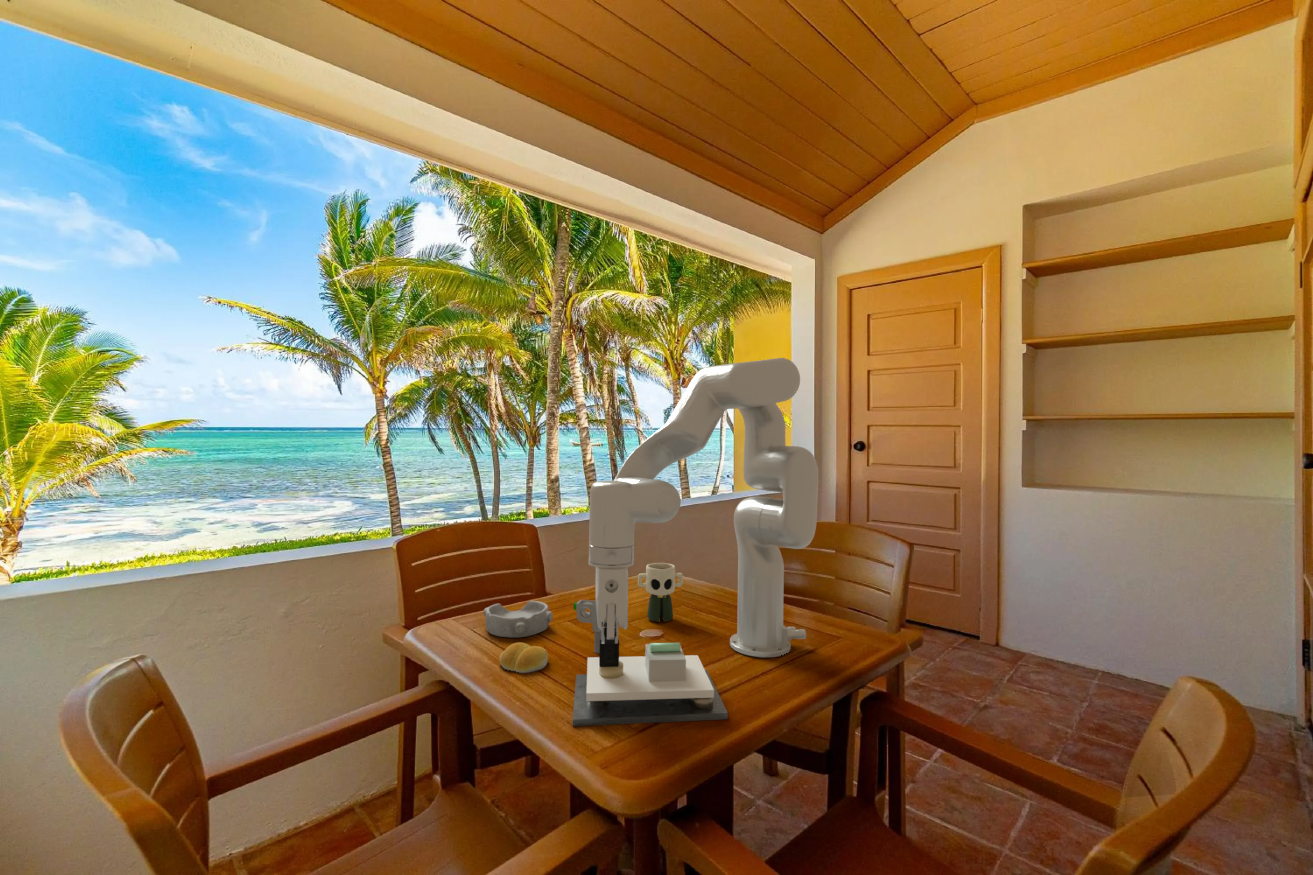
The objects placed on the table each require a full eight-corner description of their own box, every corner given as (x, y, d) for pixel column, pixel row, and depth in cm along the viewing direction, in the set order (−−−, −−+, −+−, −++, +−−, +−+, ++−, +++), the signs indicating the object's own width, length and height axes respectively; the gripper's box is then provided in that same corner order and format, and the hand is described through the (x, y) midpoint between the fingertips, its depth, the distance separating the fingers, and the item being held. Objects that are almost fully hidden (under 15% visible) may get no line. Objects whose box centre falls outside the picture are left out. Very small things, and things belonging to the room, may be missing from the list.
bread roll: (533, 677, 101) (533, 655, 101) (492, 669, 104) (492, 648, 104) (557, 660, 109) (557, 640, 109) (518, 653, 112) (518, 634, 112)
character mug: (638, 625, 130) (639, 569, 130) (636, 615, 137) (637, 562, 137) (684, 623, 131) (685, 569, 131) (680, 614, 138) (680, 562, 138)
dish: (475, 627, 127) (476, 606, 127) (530, 615, 136) (530, 595, 136) (503, 646, 116) (503, 622, 116) (561, 631, 125) (561, 609, 125)
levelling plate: (697, 661, 101) (698, 628, 101) (713, 697, 87) (714, 658, 87) (587, 664, 99) (588, 629, 99) (586, 701, 85) (587, 661, 85)
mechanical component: (620, 656, 111) (620, 606, 111) (571, 652, 113) (572, 603, 113) (624, 651, 114) (624, 602, 114) (576, 646, 116) (577, 599, 116)
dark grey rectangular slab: (707, 675, 102) (707, 660, 102) (727, 719, 87) (727, 701, 87) (576, 680, 100) (576, 664, 100) (572, 726, 84) (572, 707, 84)
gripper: (636, 564, 85) (634, 684, 85) (630, 546, 100) (628, 648, 100) (588, 565, 85) (585, 685, 85) (589, 546, 100) (587, 648, 99)
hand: (608, 664), depth 92 cm, fingers closed
